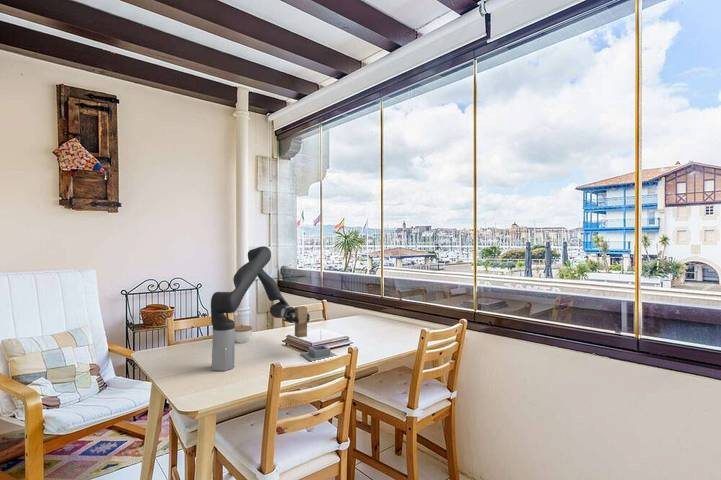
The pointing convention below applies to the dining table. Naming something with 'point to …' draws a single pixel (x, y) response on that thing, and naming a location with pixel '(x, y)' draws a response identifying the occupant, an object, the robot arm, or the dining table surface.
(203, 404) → the dining table surface
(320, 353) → the slate stand
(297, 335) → the walnut block
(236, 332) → the lidded jar
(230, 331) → the robot arm
